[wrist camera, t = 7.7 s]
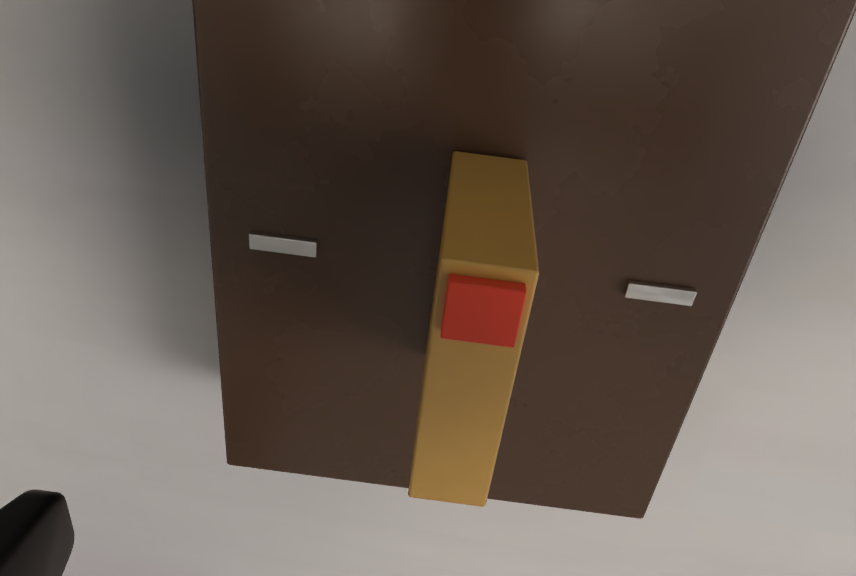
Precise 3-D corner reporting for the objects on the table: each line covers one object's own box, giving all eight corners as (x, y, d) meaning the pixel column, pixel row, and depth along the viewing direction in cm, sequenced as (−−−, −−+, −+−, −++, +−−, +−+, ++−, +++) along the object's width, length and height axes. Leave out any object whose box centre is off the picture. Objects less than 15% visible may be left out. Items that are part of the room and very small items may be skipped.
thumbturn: (486, 365, 16) (485, 519, 12) (424, 357, 16) (406, 508, 12) (527, 159, 13) (541, 281, 10) (453, 149, 13) (439, 268, 10)
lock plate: (257, 389, 21) (223, 470, 18) (237, -169, 13) (173, -169, 11) (625, 437, 21) (644, 525, 18) (818, -96, 13) (900, -77, 11)
